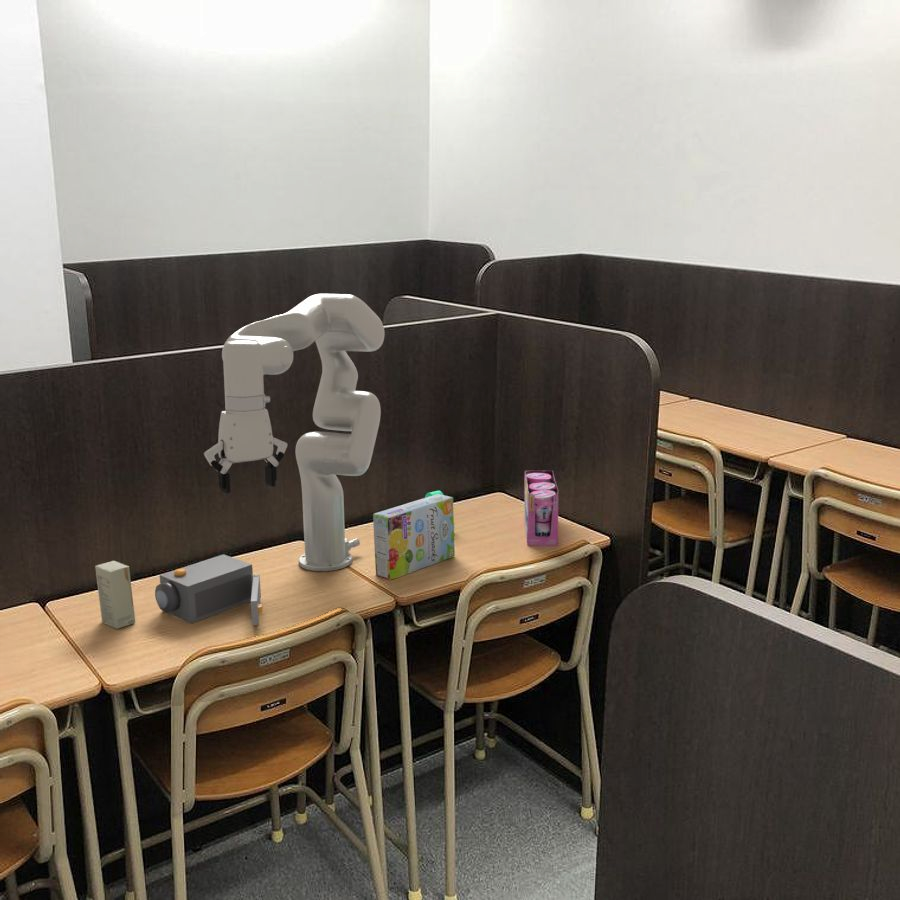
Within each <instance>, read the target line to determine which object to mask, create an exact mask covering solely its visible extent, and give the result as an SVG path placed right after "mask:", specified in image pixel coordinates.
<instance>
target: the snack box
mask: <svg viewBox="0 0 900 900" xmlns="http://www.w3.org/2000/svg"><path fill="white" fill-rule="evenodd" d="M454 516H455V515H454V497H453V496H448V495H444V494H443V495H441V494H436V495H433V496H430V497H427V498H425V497H423V498H420V499H417V500H413V501H411V502H407V503H404V504H402V505H398V506H394V507H391V508H387V509H385V510H381V511H377V512H375V513H373V514H372V520H373V521H372V523H373V539H374V540H373V543H374V564H375V565H374V566H375V575H376V576H377V577H380V578H383V577H384V578H383V579H387V580H389V579H390V581H392V580H391V579H393V580H395V579H397V577H398V578H400V577H402V576H405V574H406V575H408V574H410V573H413V571H414V572H417V571H419V570H421V568H422V569H423V568H424V569H425V568H426V567H429V566H433V565H435V564H437V563H440V562H442V561H446V560H449V559H450V558H453V557H455V555H456V552H455V548H456V547H455V521H454V520H455V519H454ZM394 578H395V579H394Z"/></svg>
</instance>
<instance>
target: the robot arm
mask: <svg viewBox="0 0 900 900" xmlns="http://www.w3.org/2000/svg"><path fill="white" fill-rule="evenodd" d="M384 341H385V328H384V325H383V322H382V320H381V318H380V317H379V316H378V315H377V313H376V312H375V311H373V310H372V308H370V306H369V305H368V304H366V302H364V300H362V299H361V298H359V297H357V296H356V295H354V294H349V293H348V294H347V293H342V294H341V293H317V294H313V295H310V296H308V297H307V298H305V299H303V300H302V301H301V302H299V303H298V304H297V305H296V306H293V308H291V309H290V310H288V311H287V312H285V313H283V314H279V315H278V314H277V315H274V316H272V317H269V318H266V319H263V320H259V321H258V320H257V321H254V322H252V323H249V324H247V325H245V326H243V327H241V328H239V329H238V330H237V331H235V332H234V333H233V334H231V335H230V336H229V337H228V338H227V339H226V341H225V342H224V344H223V346H222V351H221V360H222V362H223V363H222V365H223V380H224V381H223V383H224V384H223V385H224V387H223V388H224V404H225V407H224V409H225V410H222V411H221V412H220V419H219V424H218V441H217V443H216V444H214V445H212V447H210V448H209V449H207V450H206V451H204V452H203V455H204V457H205V459H206V461H207V462H208V464H209V465H210V467H212V468H213V469H214V470H215V471H216V472H217V473H218V488H219V489H220V491H221V492H223V493H225V494H230V493H231V476H230V473H229V472H228V471H229V469H230V468H231V466H232V465H233V464H237V463H244V462H245V463H247V462H255V461H261V460H264V461H265V462H266V464H265V465H264V476H265V480H264V481H265V484H266V485H268V486H270V487H276V481H277V479H278V477H277V467H278V466H279V464H280V461H282V459H284V456H285V452H286V450H287V448H288V443H287V442H286V441H284V440H283V441H282V440H281V439H278V438H277V437H274V436H273V429H272V424H271V423H272V422H271V419H270V416H269V411H268V409H267V408H266V404H267V403H270V402H271V396H270V395H266V393H265V388H264V386H265V384H264V375H275V376H276V375H281V374H283V373H285V372H286V371H288V370H289V368H291V366H292V364H293V362H294V352H295V351H299V350H304V349H306V348H308V347H310V346H311V345H312V344H313V343H314V342H315V344H316V348H317V350H318V353H319V357H320V360H321V367H322V370H321V372H322V373H321V377H320V381H319V385H318V389H317V392H316V397H315V402H314V405H313V409H312V420H313V422H314V424H315V425H316V426H317V427H319V428H321V429H325V430H329V432H328V431H309V432H306V433H304V434H303V435H301V436H300V438H299V439H298V440H297V442H296V445H295V459H296V463H297V467H298V471H299V476H300V482H301V483H300V484H301V497H302V498H301V499H302V520H303V538H304V539H303V540H304V543H303V544H304V554H301V556H300V557H299V558H298V565H299V566H300V568H302V569H305V570H308V571H313V572H332V571H338V570H341V569H344V568H346V567H348V566H350V564H352V563H353V555H352V553H350V552H349V551H351V549H352V548H353V549H354V548H356V547H359V546H360V544H361V542H360V539H359V538H358V537H356V538H354V539H350V540H349V539H348V538H346V535H345V534H346V531H345V529H346V528H345V506H344V501H345V500H344V490H343V489H344V488H343V486H342V483H341V481H340V479H339V477H337V475H338V476H339V475H340V476H348V477H349V476H350V477H358V476H362V475H364V473H366V472H367V471H368V469H369V467H370V464H371V461H372V457H373V454H374V449H375V445H376V439H377V437H378V436H377V435H378V433H379V432H378V431H379V427H380V422H381V412H382V411H381V404H380V400H379V399H378V397H377V396H376V394H374V393H372V392H371V391H364V390H356V388H357V383H358V379H359V374H358V370H357V367H356V366H355V363H354V362H353V361H352V359H351V357H350V356H349V355H348V352H363V353H364V352H368V353H369V352H375V351H377V350H379V349H380V348H381V347H382V345H383V343H384ZM330 430H332V432H331V431H330ZM333 431H343V432H351V433H341V432H340V433H339V432H333ZM274 445H275V446H276V447H277V449H276V451H275V453H274ZM217 454H218V457H219V458H220V460H219V461H218V460H216V458H215V457H216V456H215V455H217Z"/></svg>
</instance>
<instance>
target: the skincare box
mask: <svg viewBox="0 0 900 900" xmlns="http://www.w3.org/2000/svg"><path fill="white" fill-rule="evenodd" d="M94 566H95V567H94V568H95V576H96V584H97V585H96V586H97V593H98V601H99V607H100V615H101V616H100V617H101V622H102V623H103V624H106V625H107V626H110V627H112V628H113V629H116V630H118V629H121V628H124V627H126V626H130V625H133V624H135V623H136V615H135V607H134V599H133V590H132V588H133V587H132V581H131V572H130V571H131V570H130V566H129V565H127V564H124V563H121V562H119V561H116V560H111V561H107V562H104V563H100V564H97V565H94Z"/></svg>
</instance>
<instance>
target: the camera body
mask: <svg viewBox="0 0 900 900" xmlns="http://www.w3.org/2000/svg"><path fill="white" fill-rule="evenodd" d="M253 573H254V572H253V564H251V563H250V562H246V561H243V560H240V559H238V558H235V557H232V556H229V555H227V554H224V553H223V554H220V555H217V556H214V557H211V558H208V559H205V560H201V561H199V562H196V563H193V564H190V565H187V566H184V567H180V568H177V569H175V570H174V569H173V570H171V571H167V572H165V573H161V574H159V584H157V585H156V587H155V590H154V595H155V596H154V597H155V601H156V603H157V606H158V607H159V609H160V610H161V611H162V612H164V613H165V614H168V615H171V616H173V617H175V618H177V619H180V620H181V621H184V622H186V623H188V624H193V623H196V622H199V621H202V620H204V619H207V618H209V617H212V616H215V615H217V614H220V613H223V612H225V611H228V610H231V609H233V608H236V607H238V606H241V605H244V604H248V603H251V594H252V585H253V575H254V574H253Z"/></svg>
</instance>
